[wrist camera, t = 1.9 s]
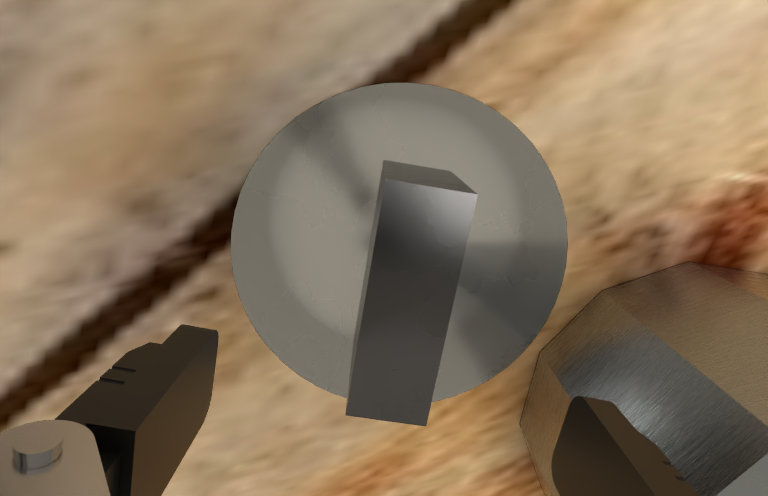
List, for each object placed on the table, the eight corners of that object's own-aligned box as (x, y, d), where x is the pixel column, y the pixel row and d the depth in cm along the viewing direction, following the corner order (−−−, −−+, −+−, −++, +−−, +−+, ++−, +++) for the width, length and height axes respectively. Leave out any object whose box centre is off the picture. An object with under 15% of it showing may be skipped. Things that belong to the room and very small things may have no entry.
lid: (255, 55, 17) (192, 28, 11) (594, 116, 18) (699, 120, 12) (227, 367, 20) (168, 468, 15) (513, 407, 21) (564, 520, 15)
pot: (571, 242, 19) (737, 357, 10) (883, 293, 19) (1289, 442, 11) (494, 511, 22) (568, 769, 14) (761, 545, 23) (992, 810, 14)
